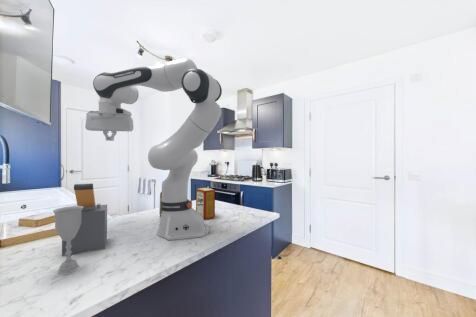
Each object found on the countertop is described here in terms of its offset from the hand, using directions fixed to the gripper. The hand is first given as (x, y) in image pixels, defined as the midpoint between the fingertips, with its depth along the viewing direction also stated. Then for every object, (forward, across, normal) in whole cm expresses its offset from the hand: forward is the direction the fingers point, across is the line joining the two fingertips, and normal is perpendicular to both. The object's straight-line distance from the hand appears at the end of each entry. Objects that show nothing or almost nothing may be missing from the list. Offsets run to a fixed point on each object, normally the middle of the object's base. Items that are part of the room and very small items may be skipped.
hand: (109, 140), depth 95 cm
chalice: (+41, +8, -36) cm, 56 cm away
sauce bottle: (+41, +22, +15) cm, 49 cm away
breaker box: (+41, +3, -21) cm, 46 cm away
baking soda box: (+41, +44, +14) cm, 62 cm away
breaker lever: (+26, +3, -21) cm, 34 cm away
